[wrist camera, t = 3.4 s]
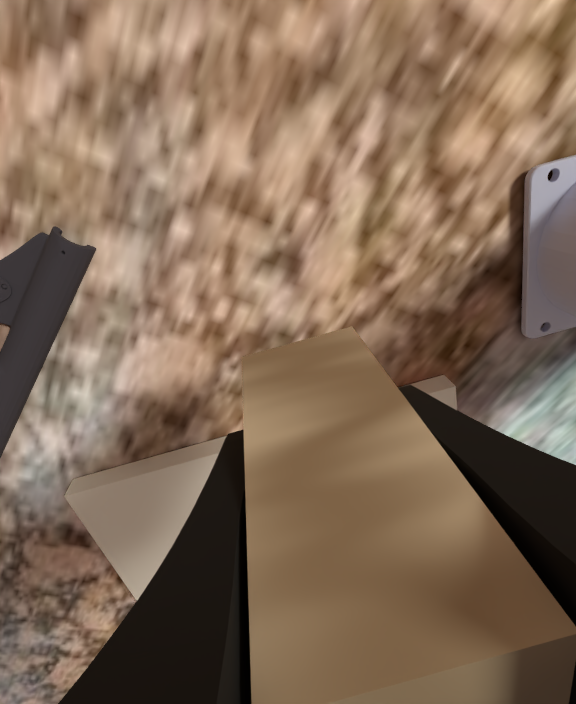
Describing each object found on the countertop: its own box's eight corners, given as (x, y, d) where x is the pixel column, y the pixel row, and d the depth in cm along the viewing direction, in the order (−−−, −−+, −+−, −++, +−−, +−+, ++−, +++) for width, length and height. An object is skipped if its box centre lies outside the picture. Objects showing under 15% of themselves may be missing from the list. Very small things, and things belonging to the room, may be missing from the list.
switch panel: (443, 374, 20) (456, 387, 19) (457, 548, 26) (468, 566, 25) (73, 479, 20) (63, 497, 19) (172, 629, 26) (170, 650, 25)
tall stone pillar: (352, 326, 11) (580, 631, 4) (368, 417, 12) (558, 769, 5) (241, 357, 11) (251, 724, 4) (270, 444, 12) (321, 836, 5)
